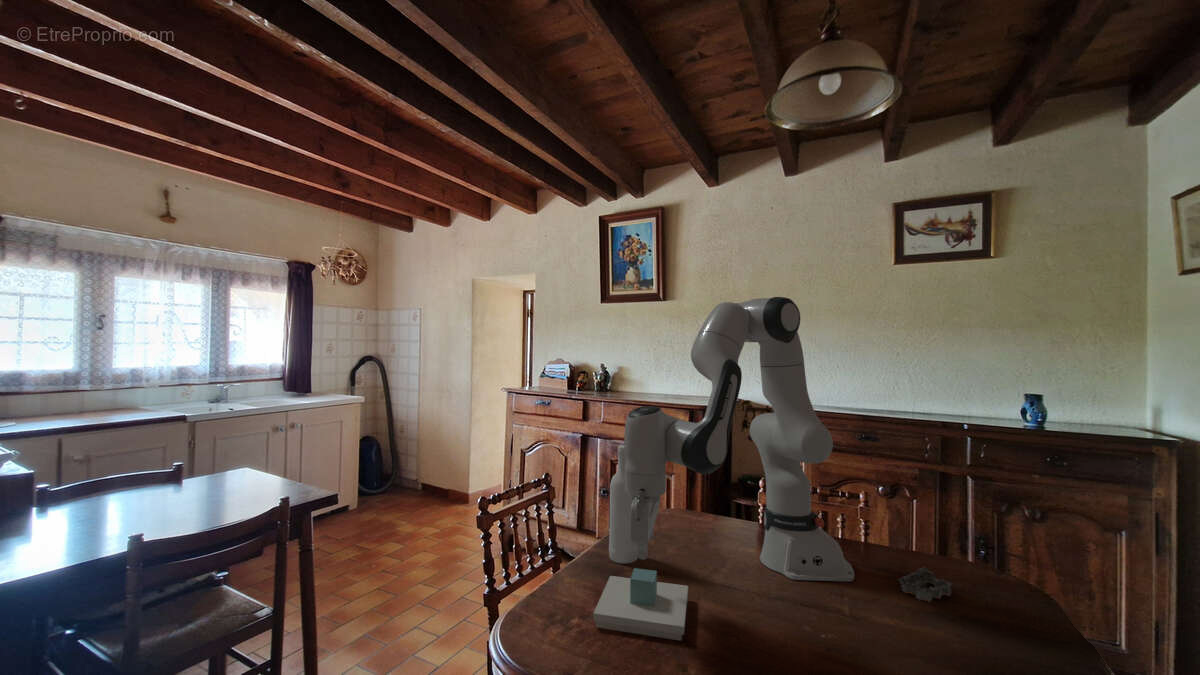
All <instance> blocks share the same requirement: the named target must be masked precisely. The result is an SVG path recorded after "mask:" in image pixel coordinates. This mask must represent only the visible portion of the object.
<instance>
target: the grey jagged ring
mask: <svg viewBox="0 0 1200 675" xmlns="http://www.w3.org/2000/svg"><path fill="white" fill-rule="evenodd" d="M897 580H898V582H899V583H900V588H901V587H902V589H901V592H902V591H904V592H912V593H915V594H916V596H915V599H916V598H918V599H925V600H929V601H931V600H932V601H933V598H932V596H935V597H942V596H943V595H942V593H946V594H951V595H952V588H951V586H953V585H955V584H954V583H951V582H950V580H948V581H946V580H944V578H942V577H941V578H940V579H937V578H936V574H935V573H934V572H933V571H931V570H928V569H927V566H924V567H920V568H919V567H918V568H917V569H916V570H915V572H910V574H907V575H904V576H902V577H901V578H897ZM923 581H927V582H929V581H930V582H932V583H933V585H934V586H936V587H933V585H930V586H929V587H927V584H926V583H925V582H923ZM913 583H914V584H913ZM927 588H929V589H927ZM942 598H943V597H942ZM918 599H917V600H918Z"/></svg>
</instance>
